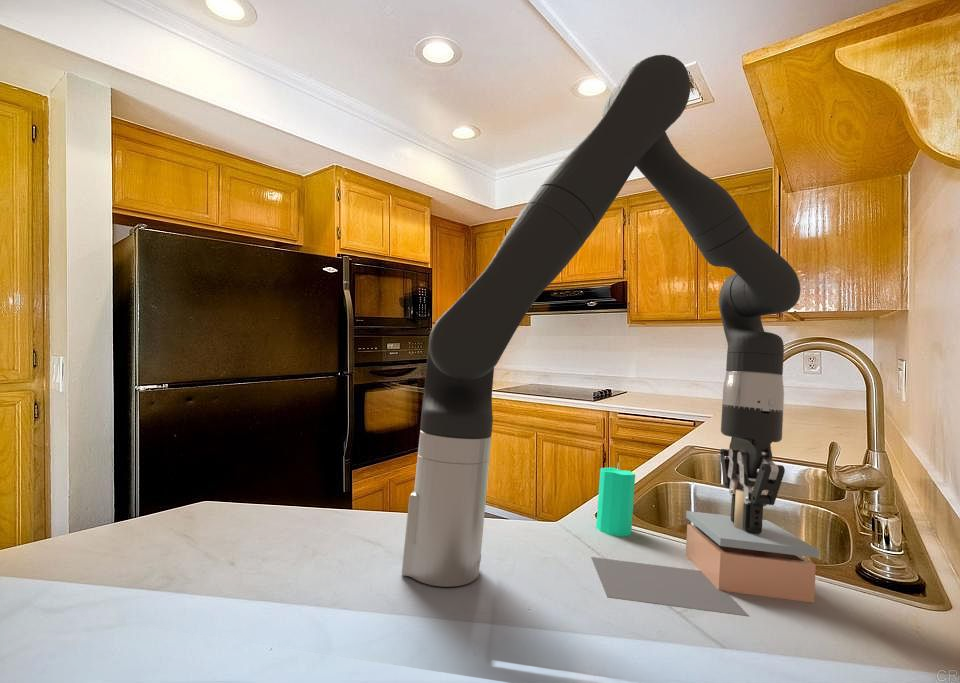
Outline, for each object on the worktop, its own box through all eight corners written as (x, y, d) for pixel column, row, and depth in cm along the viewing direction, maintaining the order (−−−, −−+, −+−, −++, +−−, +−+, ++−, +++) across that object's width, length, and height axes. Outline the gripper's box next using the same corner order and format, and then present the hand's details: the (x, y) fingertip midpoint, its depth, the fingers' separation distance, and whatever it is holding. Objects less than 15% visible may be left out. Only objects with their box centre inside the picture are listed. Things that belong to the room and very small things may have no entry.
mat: (607, 600, 54) (607, 596, 54) (590, 559, 66) (591, 556, 66) (749, 619, 52) (749, 615, 52) (706, 574, 64) (706, 571, 64)
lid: (720, 545, 59) (722, 498, 59) (685, 517, 71) (688, 478, 71) (818, 558, 58) (820, 509, 58) (767, 526, 69) (769, 487, 70)
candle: (626, 541, 75) (631, 467, 76) (590, 531, 78) (596, 460, 79) (635, 532, 80) (639, 463, 81) (601, 523, 83) (606, 457, 84)
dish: (718, 593, 58) (720, 553, 59) (685, 557, 70) (687, 524, 70) (814, 605, 57) (815, 564, 58) (764, 567, 69) (766, 533, 69)
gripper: (704, 400, 73) (698, 510, 71) (749, 405, 59) (742, 542, 57) (754, 404, 72) (748, 516, 71) (810, 411, 58) (804, 550, 57)
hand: (745, 527), depth 64 cm, fingers closed on lid, 3 cm apart
